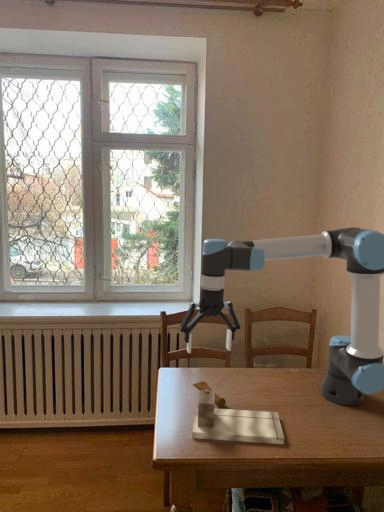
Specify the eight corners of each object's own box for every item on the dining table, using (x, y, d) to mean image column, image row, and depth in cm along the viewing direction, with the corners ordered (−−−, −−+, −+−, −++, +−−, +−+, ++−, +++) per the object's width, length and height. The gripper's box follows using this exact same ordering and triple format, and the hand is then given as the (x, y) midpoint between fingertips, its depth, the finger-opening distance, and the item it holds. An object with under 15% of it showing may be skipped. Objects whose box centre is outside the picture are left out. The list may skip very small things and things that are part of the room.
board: (277, 417, 130) (277, 412, 130) (283, 444, 117) (284, 438, 116) (194, 412, 132) (195, 407, 132) (192, 438, 118) (192, 432, 118)
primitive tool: (192, 385, 152) (192, 376, 151) (204, 382, 154) (204, 374, 154) (217, 409, 135) (218, 400, 134) (230, 406, 138) (231, 397, 137)
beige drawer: (213, 413, 128) (214, 389, 127) (213, 427, 121) (214, 402, 119) (199, 412, 129) (199, 388, 127) (197, 426, 121) (198, 401, 119)
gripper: (244, 284, 129) (240, 344, 132) (171, 285, 123) (169, 348, 126) (253, 289, 122) (248, 352, 125) (176, 291, 115) (173, 357, 119)
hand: (208, 350), depth 126 cm, fingers open, 13 cm apart
